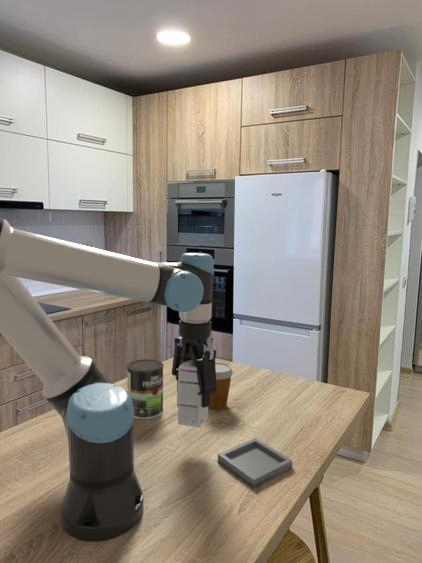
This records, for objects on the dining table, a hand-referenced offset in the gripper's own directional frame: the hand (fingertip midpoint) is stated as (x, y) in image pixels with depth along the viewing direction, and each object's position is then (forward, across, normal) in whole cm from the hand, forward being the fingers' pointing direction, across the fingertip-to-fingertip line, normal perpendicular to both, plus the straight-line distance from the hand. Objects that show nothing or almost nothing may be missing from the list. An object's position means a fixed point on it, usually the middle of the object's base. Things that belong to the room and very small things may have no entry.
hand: (191, 412), depth 101 cm
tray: (+9, -14, -8) cm, 19 cm away
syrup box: (+2, 0, 0) cm, 2 cm away
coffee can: (+10, +24, -1) cm, 26 cm away
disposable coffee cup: (+9, +15, -20) cm, 26 cm away
